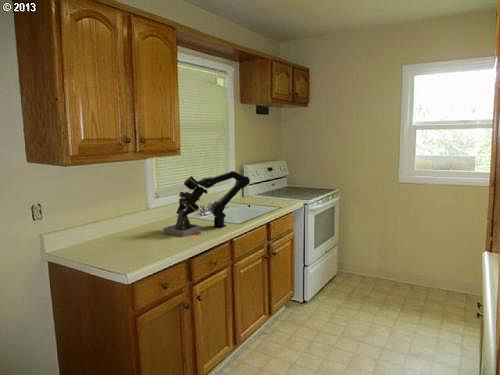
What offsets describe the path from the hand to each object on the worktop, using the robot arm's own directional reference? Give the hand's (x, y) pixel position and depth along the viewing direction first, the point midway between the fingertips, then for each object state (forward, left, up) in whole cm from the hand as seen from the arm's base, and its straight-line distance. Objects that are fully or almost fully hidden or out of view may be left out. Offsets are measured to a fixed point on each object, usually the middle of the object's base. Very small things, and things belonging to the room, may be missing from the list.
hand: (179, 214), depth 221 cm
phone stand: (-2, +1, -10) cm, 10 cm away
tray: (-1, +1, -11) cm, 11 cm away
